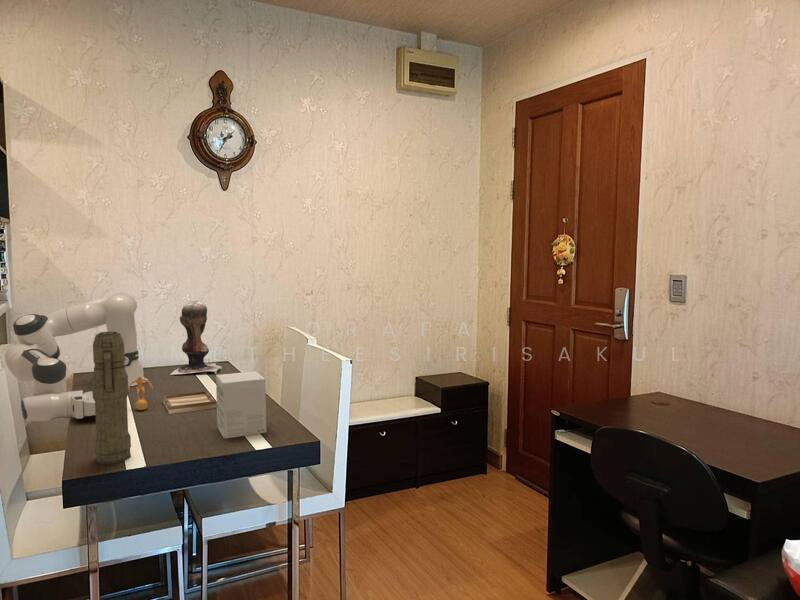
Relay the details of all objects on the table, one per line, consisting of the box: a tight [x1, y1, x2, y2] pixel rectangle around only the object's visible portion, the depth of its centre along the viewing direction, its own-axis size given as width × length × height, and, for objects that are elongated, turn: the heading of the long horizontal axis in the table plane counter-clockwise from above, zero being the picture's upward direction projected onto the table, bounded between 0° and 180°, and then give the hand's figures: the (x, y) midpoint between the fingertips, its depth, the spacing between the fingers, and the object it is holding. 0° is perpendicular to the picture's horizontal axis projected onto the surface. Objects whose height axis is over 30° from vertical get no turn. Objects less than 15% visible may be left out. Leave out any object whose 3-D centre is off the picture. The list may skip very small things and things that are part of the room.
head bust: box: [169, 300, 223, 376], centre depth 271 cm, size 22×25×35 cm
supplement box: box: [215, 370, 268, 439], centre depth 181 cm, size 13×13×18 cm
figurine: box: [128, 377, 154, 411], centre depth 205 cm, size 8×6×12 cm
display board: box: [162, 390, 217, 415], centre depth 211 cm, size 18×16×2 cm
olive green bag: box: [91, 331, 132, 465], centre depth 156 cm, size 9×12×35 cm
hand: (122, 398), depth 201 cm, fingers open, 8 cm apart
